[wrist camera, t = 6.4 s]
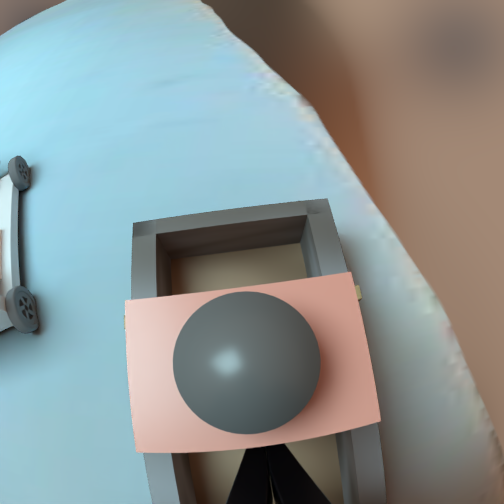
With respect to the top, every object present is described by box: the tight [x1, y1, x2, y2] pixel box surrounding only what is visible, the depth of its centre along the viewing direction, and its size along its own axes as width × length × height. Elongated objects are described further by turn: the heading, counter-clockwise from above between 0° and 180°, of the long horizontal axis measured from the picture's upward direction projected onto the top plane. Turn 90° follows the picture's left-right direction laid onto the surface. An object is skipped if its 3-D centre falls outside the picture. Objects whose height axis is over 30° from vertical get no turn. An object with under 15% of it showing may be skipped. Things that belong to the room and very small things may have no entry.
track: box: [124, 199, 387, 504], centre depth 13 cm, size 18×11×4 cm, turn 8°
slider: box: [125, 272, 381, 453], centre depth 10 cm, size 4×6×9 cm, turn 98°
